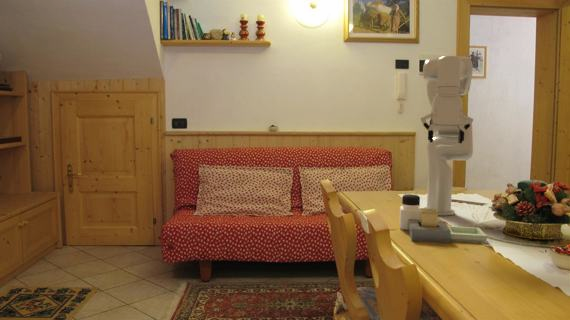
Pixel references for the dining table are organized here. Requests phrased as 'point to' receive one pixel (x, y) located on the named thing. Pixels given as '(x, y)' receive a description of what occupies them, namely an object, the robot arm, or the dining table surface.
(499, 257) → the dining table surface
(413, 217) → the medicine bottle
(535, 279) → the dining table surface
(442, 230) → the rail plate
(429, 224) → the tan rectangular block
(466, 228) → the parts tray
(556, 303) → the dining table surface
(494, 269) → the dining table surface
